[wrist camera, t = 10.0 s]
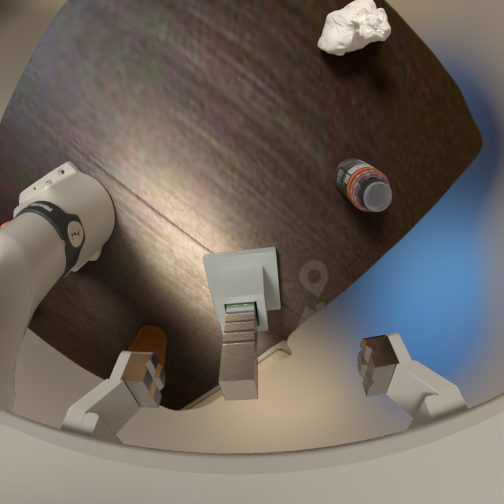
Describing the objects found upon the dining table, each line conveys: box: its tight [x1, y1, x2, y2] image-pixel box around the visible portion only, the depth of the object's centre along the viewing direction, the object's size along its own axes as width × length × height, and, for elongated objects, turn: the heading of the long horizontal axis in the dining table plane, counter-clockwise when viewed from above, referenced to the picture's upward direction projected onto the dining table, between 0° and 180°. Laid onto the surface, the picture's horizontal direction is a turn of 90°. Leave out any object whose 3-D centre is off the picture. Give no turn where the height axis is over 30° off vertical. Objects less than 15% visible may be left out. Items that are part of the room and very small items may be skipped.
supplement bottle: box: [334, 158, 392, 212], centre depth 39 cm, size 6×6×11 cm
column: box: [219, 302, 258, 400], centre depth 39 cm, size 4×4×16 cm
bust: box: [318, 0, 391, 56], centre depth 29 cm, size 12×8×11 cm
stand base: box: [203, 247, 281, 334], centre depth 48 cm, size 12×12×10 cm
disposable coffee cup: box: [127, 325, 168, 368], centre depth 54 cm, size 10×10×12 cm
